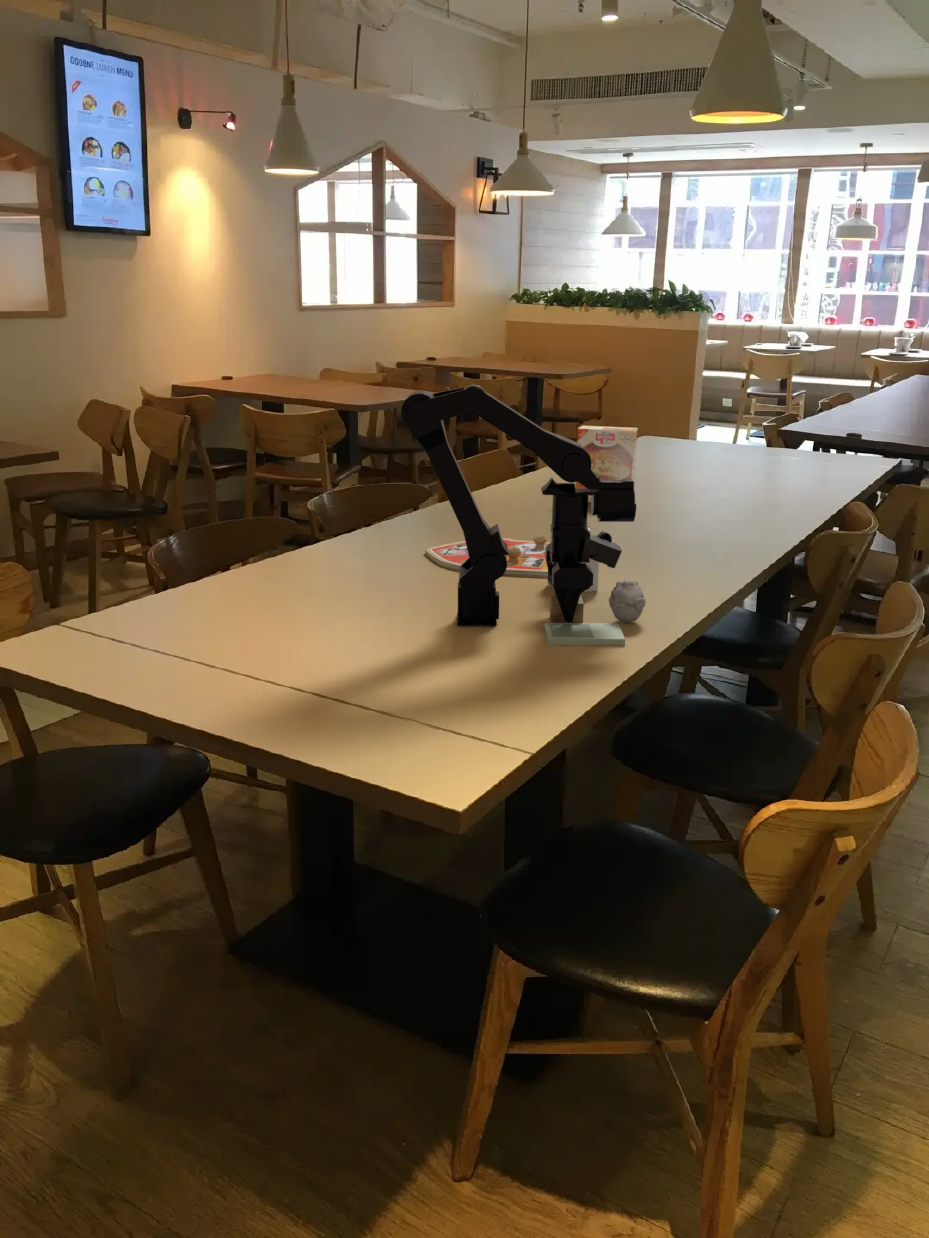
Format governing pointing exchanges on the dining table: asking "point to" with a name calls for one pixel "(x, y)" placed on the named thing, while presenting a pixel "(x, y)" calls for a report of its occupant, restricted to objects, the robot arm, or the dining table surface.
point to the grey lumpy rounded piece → (627, 601)
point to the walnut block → (557, 613)
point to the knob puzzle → (520, 560)
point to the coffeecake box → (609, 451)
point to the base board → (583, 634)
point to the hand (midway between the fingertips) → (566, 613)
